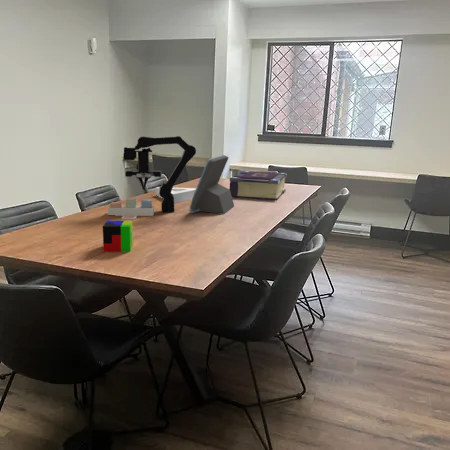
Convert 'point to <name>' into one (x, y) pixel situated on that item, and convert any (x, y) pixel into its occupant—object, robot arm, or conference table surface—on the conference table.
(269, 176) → the book
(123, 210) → the key console
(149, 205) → the slate blue key
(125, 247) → the puzzle toy
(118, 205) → the terracotta key
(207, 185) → the touchscreen device
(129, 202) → the sage green key
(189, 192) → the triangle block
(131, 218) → the card
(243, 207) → the conference table surface
